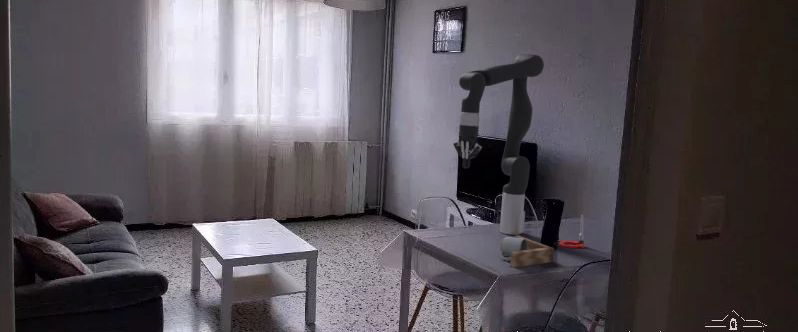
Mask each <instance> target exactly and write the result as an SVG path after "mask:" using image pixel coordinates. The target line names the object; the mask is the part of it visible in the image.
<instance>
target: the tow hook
mask: <svg viewBox="0 0 798 332" xmlns="http://www.w3.org/2000/svg"><path fill="white" fill-rule="evenodd" d="M584 222H585V220H584V214H581V218H580V226H579V227H580V228H579V234H578V236H579V237H578V241H574V240H562V241H559V246H560V247H562V248H563V247H564V248H570V249H579V248H581V249H584V248H585V247H586V246H585V243H584Z"/></svg>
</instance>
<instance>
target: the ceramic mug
mask: <svg viewBox="0 0 798 332" xmlns="http://www.w3.org/2000/svg"><path fill="white" fill-rule="evenodd" d="M524 238H525V237H524ZM524 238H515V237H514V236H505V237H504V238H502V240H501V242H500V258H501V260H502V261H504V260H505V261H504V262H511V252H515V251H523V250H527V248H528V247H527V246H528V245H527V240H526V239H524Z"/></svg>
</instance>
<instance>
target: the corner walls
mask: <svg viewBox="0 0 798 332" xmlns="http://www.w3.org/2000/svg"><path fill="white" fill-rule="evenodd" d="M513 237H515V238H524V239H526V240H527V245H528V246H527V247H528V248H527V250H523V251H515V252H511V261H510V267H512V268H514V267H515V268H520V267H526V266H534V265H541V264H548V263H553V262H554V254H555V248H554V247H551V246H548V245H547V244H546V245H545V244H543V243H540V242H538V241H534V240H532V239H529V238H526V237H523V236H521V235H513Z"/></svg>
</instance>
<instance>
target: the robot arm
mask: <svg viewBox="0 0 798 332" xmlns="http://www.w3.org/2000/svg"><path fill="white" fill-rule="evenodd" d="M544 66H545V64H544V59H543V58H542V57H541V56H540V55H538V54H531V53H530V54H529V53H528V54H525V53H523V54H519V55H517V56H516V58H515V59H514V62H512V63H507V64H502V65H500V64H499V65H495V66H494V65H493V66H491V67H486V68H484V69H476V70H470V71H467V72H464V73H463V74H462V75H460V77H459V80H458V83H459V86H460V88H461V89H462V90H464V91H467V92H468V91H469V93H468V95H467V96H465V97H463V98H462V100H461V110H460V117H459V130H458V135H459V136H458V137H459V138H458V141H456V142H454V143H453V146H454V149H455V151H456V153H457V154H458V157H460V158H462V164H461V165H462V168H463V169H469V168H470V166H471V160H472V159H473V158H476V157H477V155H478V154H479V153H480V152H481V150H482V149H483V146H482V145H480V144H479V143H478V142H479V141H478V136H479V128H480V106H481V101H482V98H483V95H484V91H485V89H486V87H491V86H494V85H498V84H502V83H505V82H509V81H512V89H511V90H512V92H511V93H512V94H511V101H510V102H511V103H510V109H509V117H508V125H507V126H508V127H507V132H506V138H505V139H506V140H505V141H506V142H505V146H504V149H503V155H502V158H501V170H502V172H503V174H504V175H506V176H509V177H510V179H509V182H508V183H507V184H505V185H503V187H502V199H501V210H500V223H499V224H500V225H499V232H500V233H502V234H505V235H510V236H511V235H513V236H520V235H521V234H523V233H524V229H525V218H526V217H525V216H526V211H525V210H524V207H525V197H526V190H527V188H528V183H529V178H530V172H531V171H530V170H531V169H530V168H531V167H530V166H531V165H530V161H529V159H528V158H527V157H525V156H523V155H522V156H521V155H520V148H521V144H522V141H523V139H524V138H525V136H526V135H527V132H528V131H529V130H530V127H531V124H532V118H533V106H532V102H531V99H530V97H529V93H528V88H527V86H528V85H527V84H528V83H527V82H528V78H534V77H538V76H540V75H541V74H542V72H543V70H544Z"/></svg>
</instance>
